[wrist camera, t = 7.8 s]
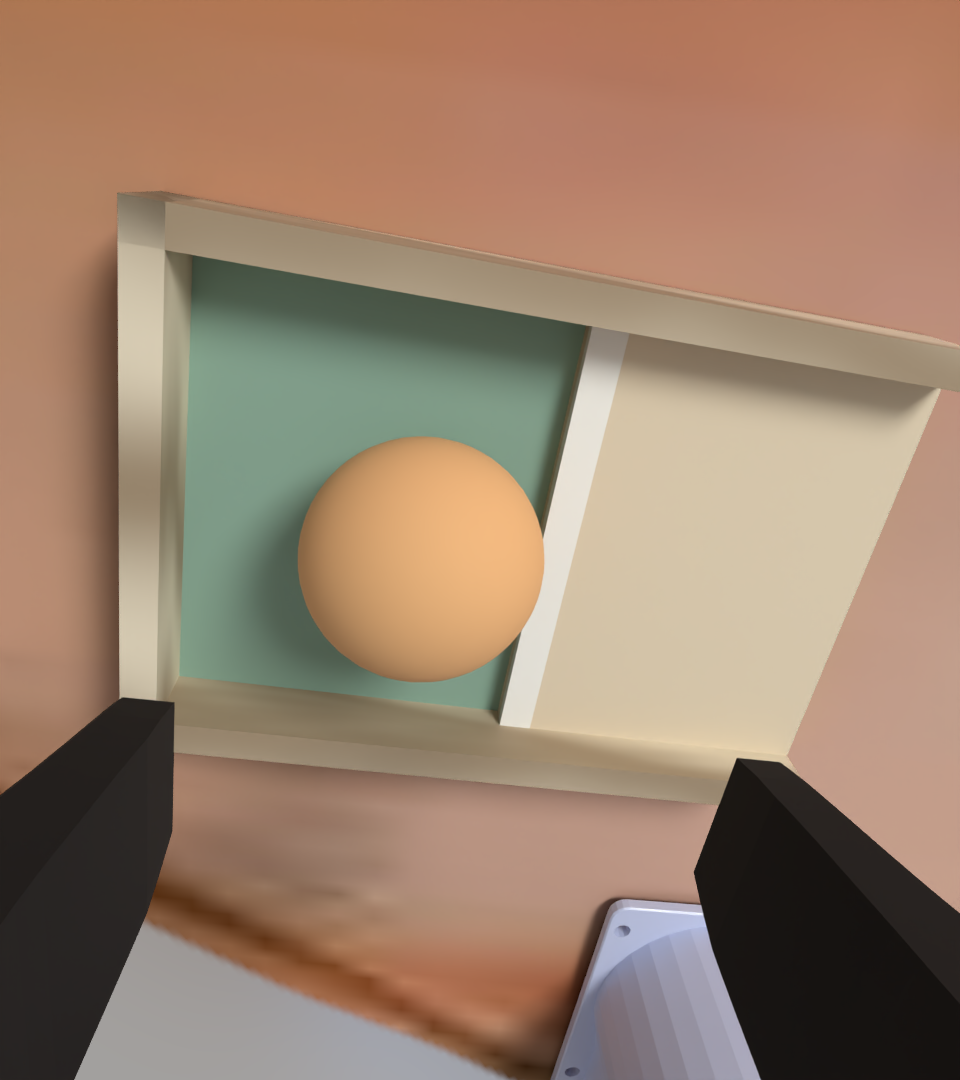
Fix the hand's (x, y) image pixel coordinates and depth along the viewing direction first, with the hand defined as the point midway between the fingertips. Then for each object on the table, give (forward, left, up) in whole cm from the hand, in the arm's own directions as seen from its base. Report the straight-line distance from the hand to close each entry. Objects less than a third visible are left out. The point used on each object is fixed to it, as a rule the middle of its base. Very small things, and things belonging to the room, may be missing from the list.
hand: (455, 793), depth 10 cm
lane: (0, -2, -10) cm, 10 cm away
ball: (0, +2, -9) cm, 9 cm away
